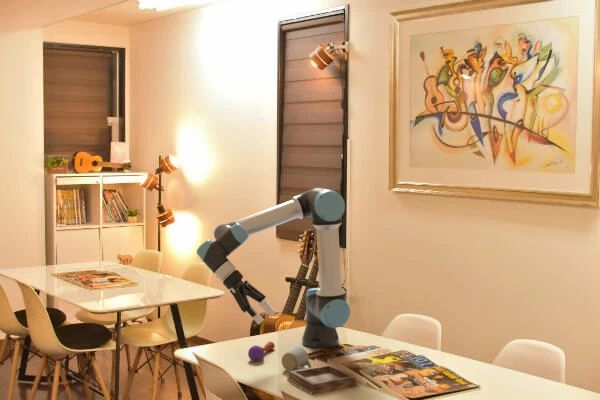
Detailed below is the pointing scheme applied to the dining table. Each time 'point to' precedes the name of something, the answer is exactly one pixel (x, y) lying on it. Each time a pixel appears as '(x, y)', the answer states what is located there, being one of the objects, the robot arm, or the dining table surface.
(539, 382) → the dining table surface
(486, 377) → the dining table surface
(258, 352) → the purple maraca
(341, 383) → the brown wooden tray
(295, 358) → the ceramic mug
